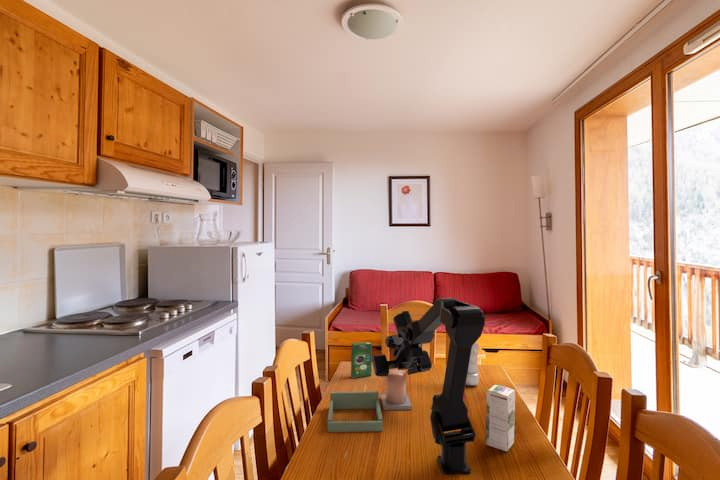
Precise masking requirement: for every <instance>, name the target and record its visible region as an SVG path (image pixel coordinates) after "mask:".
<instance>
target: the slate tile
mask: <svg viewBox="0 0 720 480" xmlns="http://www.w3.org/2000/svg"><path fill="white" fill-rule="evenodd" d="M380 399H381V400H380V401H381V404H382V408H383V411H398V410H399V411H401V410H402V411H404V410H406V411H409V410H413V406H412V403H411V400H410V397H409V395H408V393H406V402H405V403H403V404H390V403H388V402H387V401H386V394H381V395H380Z"/></svg>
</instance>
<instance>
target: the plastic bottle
mask: <svg viewBox="0 0 720 480" xmlns="http://www.w3.org/2000/svg"><path fill="white" fill-rule="evenodd" d="M478 354H479V342H478V340H477V341H476V342H475V343H474V344H473V346H472V349H471V355H470V361H469V367H468V373H467V379H466V385H465V386H471V387H474V386H477V385H478V384H479V381H480V375H479V371H478V369H479V368H478V356H479V355H478Z"/></svg>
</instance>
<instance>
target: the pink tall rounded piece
mask: <svg viewBox="0 0 720 480" xmlns="http://www.w3.org/2000/svg"><path fill="white" fill-rule="evenodd" d="M406 382H407V372H406V371H405V370H398V368H396V369H389V373H388V376H386V377H385V395H386V401H387V402H388V403H390V404H403V403H405V402H406V394H407V383H406Z"/></svg>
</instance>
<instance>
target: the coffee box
mask: <svg viewBox="0 0 720 480" xmlns="http://www.w3.org/2000/svg"><path fill="white" fill-rule="evenodd" d="M372 348H373V343H371V342H370V341H368V342H367V341H366V342H365V341H364V342H352V343H351V353H350V355H351V358H350V359H351V361H350V377H351V378H352V379H355V378H365V377H372V366H373V364H372V358H373V354H372V353H373V352H372V351H373V349H372Z"/></svg>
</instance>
